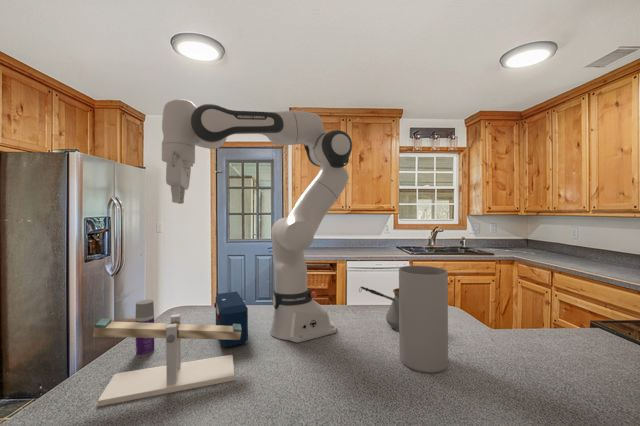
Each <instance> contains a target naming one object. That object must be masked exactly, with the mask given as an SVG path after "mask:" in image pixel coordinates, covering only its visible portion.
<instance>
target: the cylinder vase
mask: <svg viewBox="0 0 640 426" xmlns="http://www.w3.org/2000/svg"><path fill="white" fill-rule="evenodd" d="M448 272H449V271H448V270H446V269H445V268H442V267H441V268H440V267H438V266H428V265H404V266H400V267H399V268H398V288H399V330H398V333H399V338H398V341H399V342H398V343H399V344H398V345H399V347H398V350H399V351H398V352H399V354H398V355H399V359H400V361H401V363H403V364H404V365H405V366H406V367H408V368H410V369H412V370H413V371H417V372H421V373H427V374H432V373H439V372H442V371H444V370H445V369H447V368H448V366H449V278H448V277H449V273H448Z"/></svg>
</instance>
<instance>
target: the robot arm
mask: <svg viewBox="0 0 640 426" xmlns="http://www.w3.org/2000/svg"><path fill="white" fill-rule="evenodd" d="M161 121H162V123H161V131H162V135H163V138H162V142H161V161H162V162H164V163H166V165H165V166H166V168H165V169H166V170H165V182H166V184H167V186H170V192H171V202H172V203H175V204H180V205H183V204H184V203H185V201H184V200H185V195H186V191H187V190H189V187H190V180H191V174H192V173H191V171H192V167H194V164H196V146H197V147H201V148H203V149H209V150H216V149H219V148H221V147H222V146H223V145H224V144H225V142H226V141H227V138H228V137H230V136H233V135H263V136H265V137H267V139H268V140H269V141H270V142H271V143H272V144H274V145H280V146H281V145H282V146H296V145H303V146H304V147H303V148H304V149H305V152H306V156H307V158H308V161H309V162H310V163H311V164H312V165H313V166H314V167H319V170H318V173H317V175H316V176H315V177H314V179H313V180H312V181H311V182H310V183H309V184H308V185H307V186H306V188H305V190H304V191H303V192H302V193H301V194H300V195H299V197H298V199H297V202H296V203H295V205H294V206H293V208H292V210H291V212H290V213H289V214H288V215H287V216H286V217H281V218H280V219H278V220H276V221H275V222H274V223H273V225H272V227H271V232H270V233H271V246H272V257H273V263H274V264H273V265H274V290H273V296H272V297H273V298H272V299H273V302H272V303H273V308H274V311H273V320H272V325H271V328H270V331H269V332H270V335H271V336H272V337H274V338H276V339H279V340H286V341H290V342H294V343H302V342H305V341H309V340H313V339H317V338H321V337H324V336H328V335H329V336H330V335H332V334H335V333H336V332H337V326H336V324H335V323H334V322H333V321H332V320H331V319H330V316H329V313H328V311H327V309H326V308H325V307H324V306H323V305H322V304H320V303H318V302H317V301H316V300H314V299H317V297H318V294H317V293H316V292H315V291H313V290H311V289H309V288H308V266H307V263H306V259H305V254H304V251H305V250H307V249H308V248H310V247H311V245H312V244H313V242H314V238H315V235H316V233H317V231H318V229H319V227H320V225H321V223H322V221H323V219H324V217H325V216H326V215H327V213H328V212H329V211H330V209H331V208H332V207H333V205H334V204H335V203H336V201H337V200H338V199H339V198H340V196H341V195H342V193H343V191H344V189H345V188H346V185H347V184H348V182H349V178H350V177H349V172H348V171H347V170H346V168H345V166H347V165H348V164H349V159H350V156H351V154H352V151H353V150H352V149H353V141H352V138H351V137H350V135H349V134H348V133H347V132H346V131H343V130H338V129H335V130H330V131H328V132H327V131H326V130H325V128H324V123H323V120H322V118H321V116H320V115H319V114H317V113H314V112H309V111H301V110H283V111H282V110H281V111H256V110H255V111H250V110H248V111H246V110H233V109H228V108H225V107H222V106H220V105H217V104H213V103H204V104H201V105H200V106H196V105H195V104H194V103H193V102H192V101H191V100H187V99H183V98H182V99H181V98H179V99H178V98H176V99H175V98H174V99H172V100H169V101H168V102H166V103H165V105H164V107H163V111H162V120H161Z"/></svg>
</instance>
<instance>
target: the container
mask: <svg viewBox="0 0 640 426" xmlns="http://www.w3.org/2000/svg"><path fill="white" fill-rule="evenodd" d="M154 306H155V304H154V300H153V299H142V300H139V301H137V302H135V320H134V322H139V323H155V309H154ZM154 352H155V338H135V356H136V357H138V358H140V357H147V356H151V355H152V354H153V353H154Z"/></svg>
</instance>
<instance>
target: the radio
mask: <svg viewBox="0 0 640 426" xmlns="http://www.w3.org/2000/svg"><path fill="white" fill-rule="evenodd" d="M213 306H214V309H215V325H221V326H233V324H241V329H242V330H241V336H240V340H228V339H218V340H219V343H220V345H221V347H223V348H228V347H235V346H239V345H244V344H246V343H247V341H248V339H249V319H248V318H249V317H248V316H249V315H248V314H249V313H248V312H249V310H248V309H249V308H248V307H247V305H246V303H245V302H244V300H243V298H242V297H241V295H240V294H239V292H238V291H231V292H230V291H228V292H223V293H221V292H220V293H218V294H216V296H215V302H214V305H213Z"/></svg>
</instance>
